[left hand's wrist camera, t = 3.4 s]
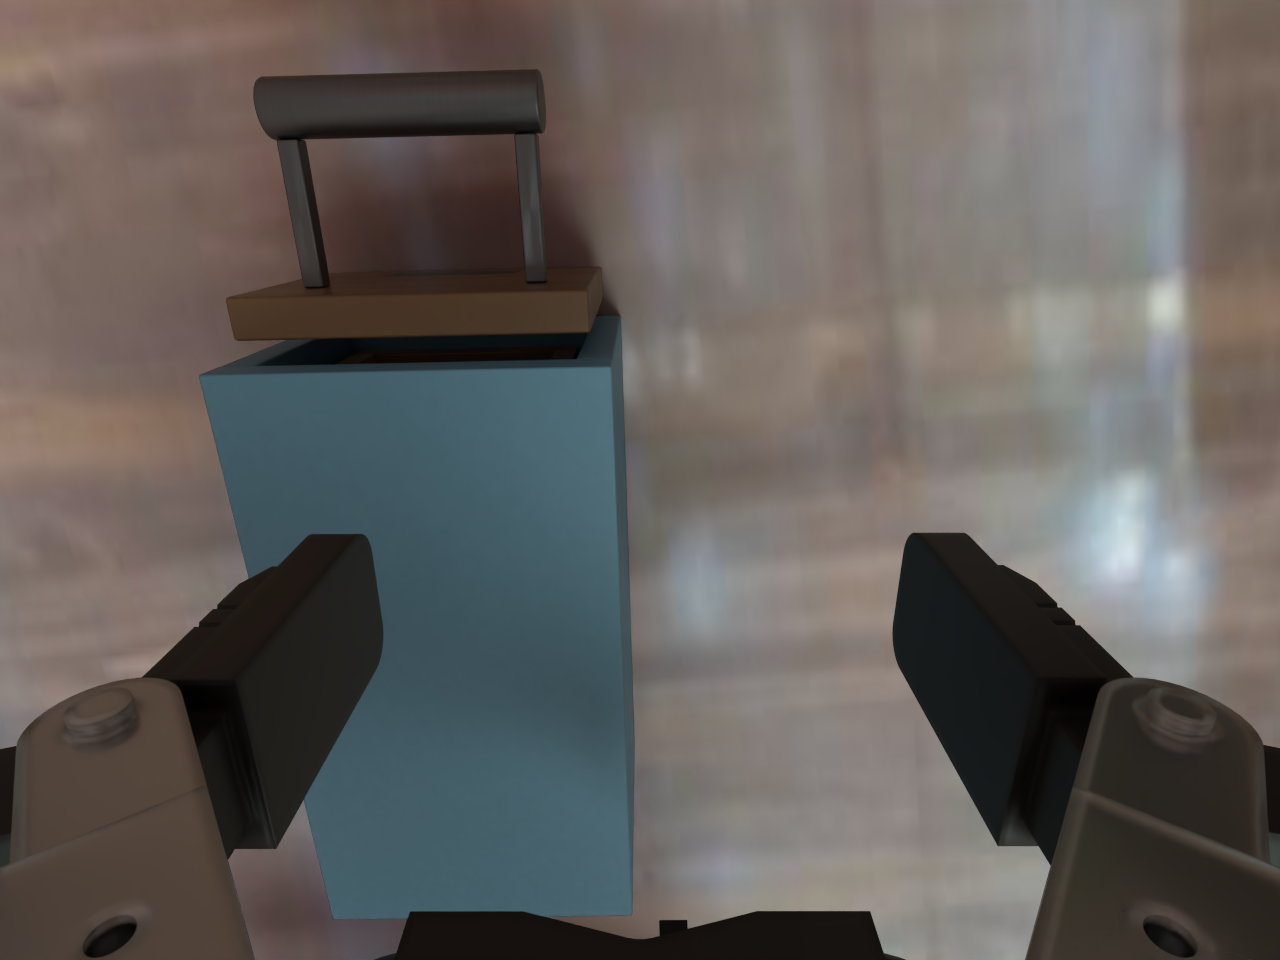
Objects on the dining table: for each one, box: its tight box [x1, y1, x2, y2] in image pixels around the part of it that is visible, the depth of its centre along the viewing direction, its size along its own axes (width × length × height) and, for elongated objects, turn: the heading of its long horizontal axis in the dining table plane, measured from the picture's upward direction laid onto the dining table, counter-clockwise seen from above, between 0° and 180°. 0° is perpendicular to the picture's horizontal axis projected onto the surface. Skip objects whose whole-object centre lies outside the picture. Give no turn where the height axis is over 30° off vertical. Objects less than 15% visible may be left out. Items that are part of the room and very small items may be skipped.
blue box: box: [199, 315, 635, 919], centre depth 27 cm, size 21×11×9 cm, turn 1°
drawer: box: [226, 69, 603, 365], centre depth 26 cm, size 25×10×7 cm, turn 1°
